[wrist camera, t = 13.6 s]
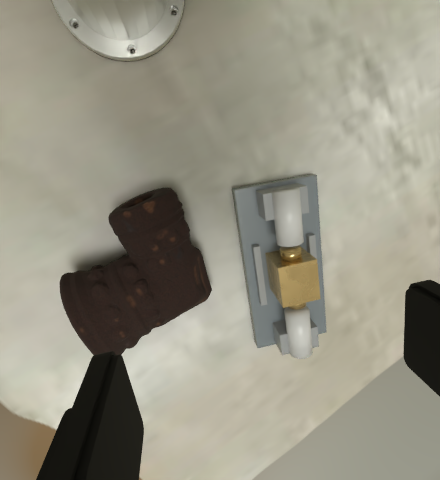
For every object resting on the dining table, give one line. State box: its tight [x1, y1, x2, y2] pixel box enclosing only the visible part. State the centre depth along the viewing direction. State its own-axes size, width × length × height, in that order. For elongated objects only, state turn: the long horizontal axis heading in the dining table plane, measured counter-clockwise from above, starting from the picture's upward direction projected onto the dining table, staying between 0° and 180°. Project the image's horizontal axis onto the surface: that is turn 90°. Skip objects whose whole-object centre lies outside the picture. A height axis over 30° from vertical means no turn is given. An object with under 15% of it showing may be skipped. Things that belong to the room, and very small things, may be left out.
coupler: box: [265, 245, 320, 310], centre depth 37 cm, size 7×4×5 cm, turn 10°
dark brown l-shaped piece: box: [60, 188, 212, 355], centre depth 34 cm, size 10×15×15 cm
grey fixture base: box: [232, 174, 326, 359], centre depth 38 cm, size 22×10×6 cm, turn 9°
